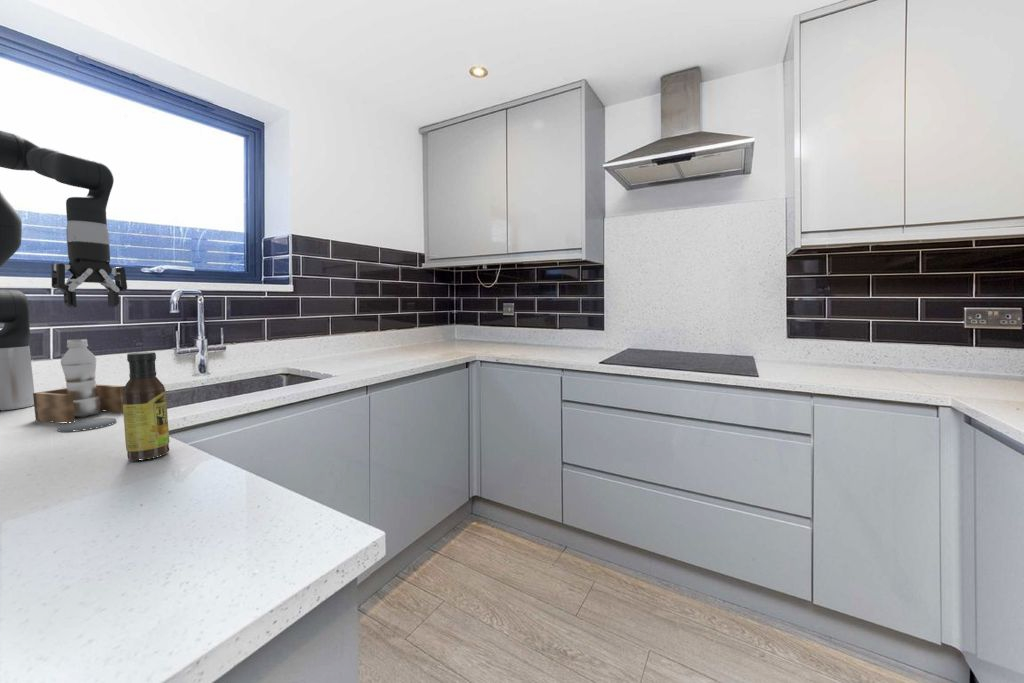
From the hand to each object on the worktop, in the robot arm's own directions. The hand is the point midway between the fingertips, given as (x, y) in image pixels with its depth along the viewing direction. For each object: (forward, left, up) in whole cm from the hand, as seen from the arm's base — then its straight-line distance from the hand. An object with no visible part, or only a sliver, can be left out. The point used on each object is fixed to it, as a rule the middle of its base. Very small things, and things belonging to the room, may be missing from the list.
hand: (93, 306), depth 108 cm
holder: (-6, -1, -28) cm, 29 cm away
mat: (+6, -7, -28) cm, 30 cm away
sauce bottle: (+43, -18, -29) cm, 55 cm away
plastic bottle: (-6, -1, -29) cm, 29 cm away
